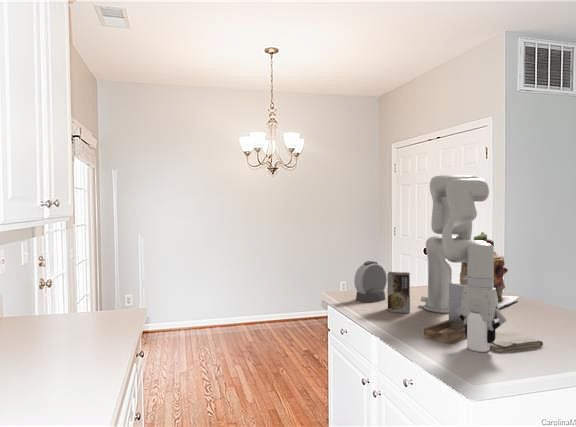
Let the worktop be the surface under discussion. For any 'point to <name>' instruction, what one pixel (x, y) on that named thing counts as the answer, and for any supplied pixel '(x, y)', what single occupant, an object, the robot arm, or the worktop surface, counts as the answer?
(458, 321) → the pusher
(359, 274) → the alarm clock
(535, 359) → the worktop surface
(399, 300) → the coffee box
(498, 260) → the cookie jar
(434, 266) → the robot arm
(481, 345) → the can
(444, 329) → the wooden tray
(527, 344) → the washcloth
